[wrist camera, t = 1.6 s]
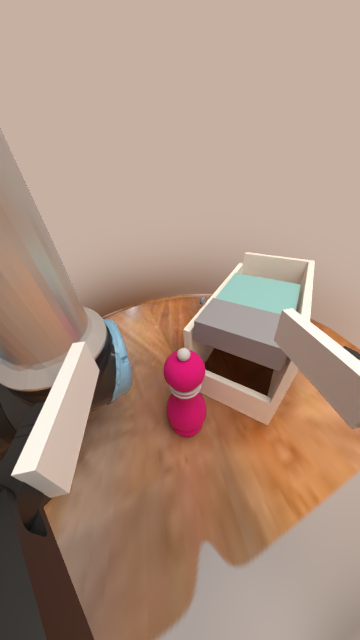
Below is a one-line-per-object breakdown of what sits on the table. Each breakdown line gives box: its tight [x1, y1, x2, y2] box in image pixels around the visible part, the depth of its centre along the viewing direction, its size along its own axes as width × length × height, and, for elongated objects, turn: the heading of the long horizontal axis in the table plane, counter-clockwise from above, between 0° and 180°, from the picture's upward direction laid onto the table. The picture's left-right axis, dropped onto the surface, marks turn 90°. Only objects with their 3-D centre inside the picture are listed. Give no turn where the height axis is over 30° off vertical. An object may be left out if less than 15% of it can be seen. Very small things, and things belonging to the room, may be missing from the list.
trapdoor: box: [194, 273, 301, 372], centre depth 36 cm, size 14×22×4 cm, turn 150°
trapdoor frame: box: [183, 252, 315, 426], centre depth 44 cm, size 19×34×20 cm, turn 150°
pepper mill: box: [164, 348, 206, 437], centre depth 31 cm, size 7×7×20 cm
